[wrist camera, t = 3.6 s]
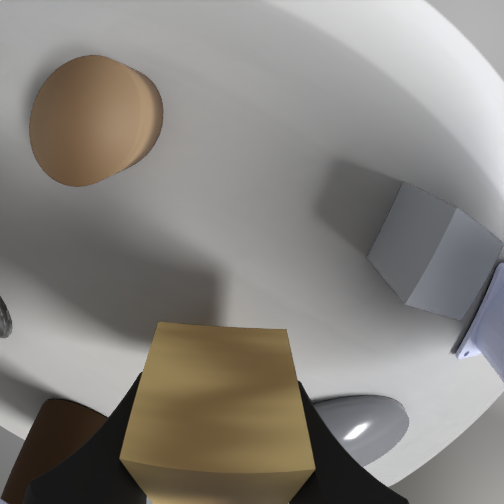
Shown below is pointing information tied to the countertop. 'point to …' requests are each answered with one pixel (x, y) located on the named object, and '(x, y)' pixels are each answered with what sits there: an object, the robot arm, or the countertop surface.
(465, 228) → the slate grey block
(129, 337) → the countertop surface
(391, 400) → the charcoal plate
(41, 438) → the olive oil
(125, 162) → the oak cylinder
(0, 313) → the salt shaker
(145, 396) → the ochre block
